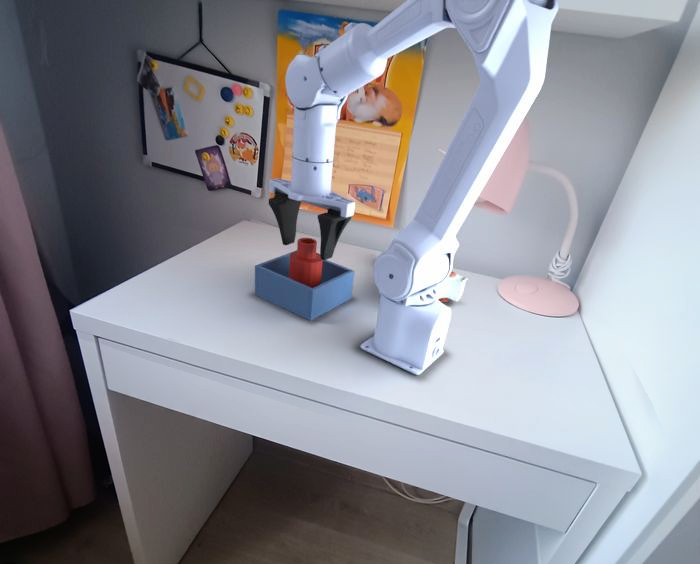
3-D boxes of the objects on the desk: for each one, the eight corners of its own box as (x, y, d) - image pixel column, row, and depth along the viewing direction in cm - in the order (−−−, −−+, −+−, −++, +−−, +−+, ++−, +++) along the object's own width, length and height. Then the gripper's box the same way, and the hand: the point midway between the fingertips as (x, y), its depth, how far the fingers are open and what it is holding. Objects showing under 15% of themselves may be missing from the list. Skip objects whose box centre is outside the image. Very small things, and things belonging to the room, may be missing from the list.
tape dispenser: (381, 266, 95) (351, 300, 79) (385, 241, 93) (354, 270, 76) (468, 282, 91) (456, 321, 74) (474, 256, 89) (463, 290, 72)
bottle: (325, 294, 78) (330, 242, 73) (306, 304, 74) (309, 250, 69) (302, 283, 80) (305, 232, 75) (281, 293, 76) (283, 239, 71)
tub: (351, 298, 79) (354, 270, 76) (310, 321, 71) (313, 290, 68) (297, 276, 84) (299, 249, 81) (254, 294, 76) (254, 265, 73)
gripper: (254, 150, 66) (254, 242, 73) (337, 173, 59) (328, 272, 67) (288, 146, 71) (285, 233, 78) (367, 167, 65) (356, 259, 72)
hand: (307, 250), depth 73 cm, fingers open, 7 cm apart
